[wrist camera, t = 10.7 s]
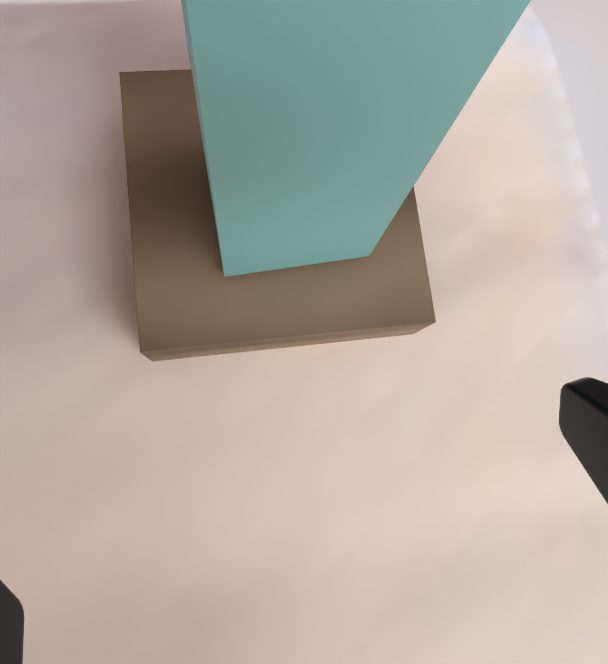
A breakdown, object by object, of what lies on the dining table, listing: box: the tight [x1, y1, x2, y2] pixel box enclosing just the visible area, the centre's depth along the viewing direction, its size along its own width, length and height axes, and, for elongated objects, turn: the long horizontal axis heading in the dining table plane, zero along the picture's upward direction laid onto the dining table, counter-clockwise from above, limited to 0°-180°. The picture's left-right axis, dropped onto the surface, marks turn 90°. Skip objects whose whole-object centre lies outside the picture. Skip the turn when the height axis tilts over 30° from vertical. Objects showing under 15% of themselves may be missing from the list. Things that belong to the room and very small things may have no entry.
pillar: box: [181, 0, 530, 277], centre depth 12 cm, size 5×5×13 cm
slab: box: [120, 70, 436, 361], centre depth 20 cm, size 10×10×3 cm
